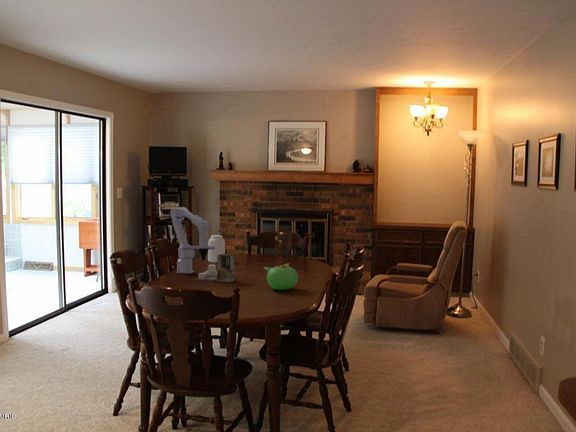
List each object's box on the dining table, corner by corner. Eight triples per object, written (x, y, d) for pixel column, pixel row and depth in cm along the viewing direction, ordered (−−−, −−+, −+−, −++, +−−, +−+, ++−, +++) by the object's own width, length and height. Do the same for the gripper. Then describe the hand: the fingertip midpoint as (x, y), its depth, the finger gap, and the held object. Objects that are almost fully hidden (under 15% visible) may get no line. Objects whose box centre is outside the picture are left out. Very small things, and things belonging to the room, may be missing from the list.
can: (210, 259, 389) (211, 234, 388) (226, 260, 388) (226, 234, 386) (205, 262, 377) (206, 235, 376) (222, 263, 375) (222, 236, 374)
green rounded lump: (272, 293, 278) (273, 267, 277) (261, 287, 294) (262, 262, 293) (302, 291, 285) (302, 265, 284) (290, 285, 301) (290, 261, 300)
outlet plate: (203, 275, 325) (203, 272, 324) (207, 273, 334) (207, 270, 333) (221, 276, 323) (221, 273, 323) (224, 274, 332) (225, 271, 332)
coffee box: (234, 280, 312) (235, 254, 310) (230, 282, 305) (230, 256, 304) (221, 279, 315) (221, 253, 313) (216, 281, 308) (217, 255, 307)
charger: (207, 274, 326) (207, 265, 326) (209, 273, 330) (209, 264, 330) (213, 274, 326) (214, 265, 325) (215, 273, 330) (215, 264, 329)
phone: (205, 281, 310) (205, 279, 310) (209, 278, 318) (209, 276, 318) (215, 281, 310) (215, 279, 310) (218, 279, 318) (218, 277, 318)
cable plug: (198, 279, 313) (198, 274, 313) (200, 278, 317) (200, 272, 317) (206, 279, 313) (206, 274, 312) (207, 278, 316) (207, 273, 316)
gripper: (190, 239, 320) (190, 260, 321) (213, 240, 319) (212, 261, 320) (194, 238, 327) (194, 259, 328) (216, 239, 326) (215, 260, 327)
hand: (203, 260), depth 324 cm, fingers closed
